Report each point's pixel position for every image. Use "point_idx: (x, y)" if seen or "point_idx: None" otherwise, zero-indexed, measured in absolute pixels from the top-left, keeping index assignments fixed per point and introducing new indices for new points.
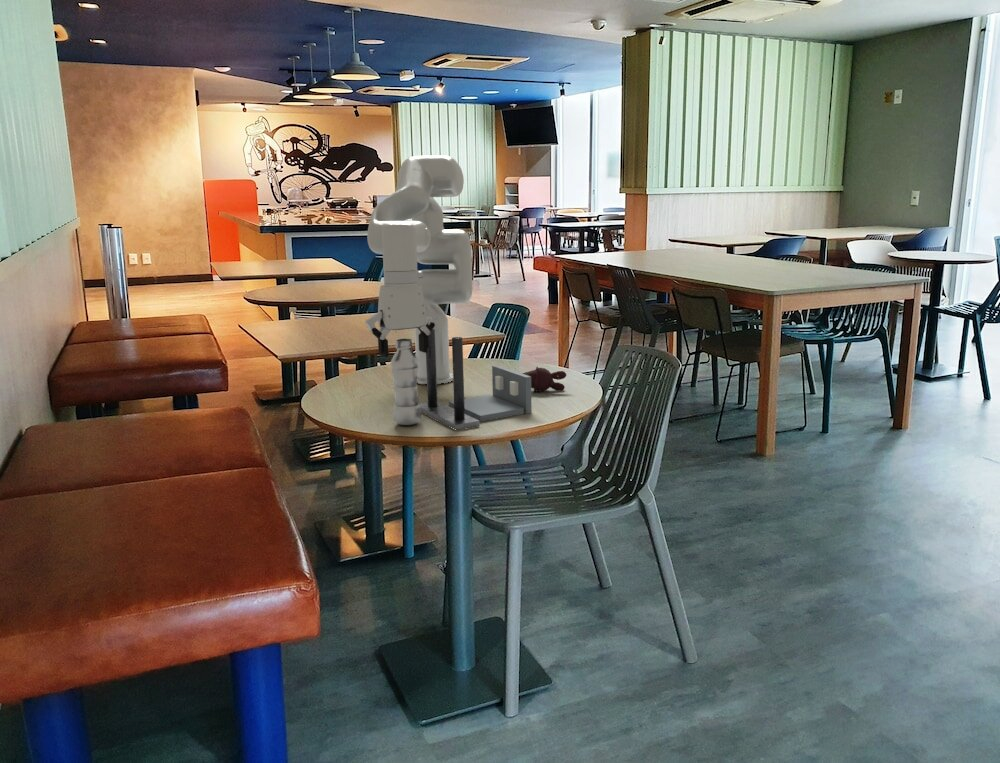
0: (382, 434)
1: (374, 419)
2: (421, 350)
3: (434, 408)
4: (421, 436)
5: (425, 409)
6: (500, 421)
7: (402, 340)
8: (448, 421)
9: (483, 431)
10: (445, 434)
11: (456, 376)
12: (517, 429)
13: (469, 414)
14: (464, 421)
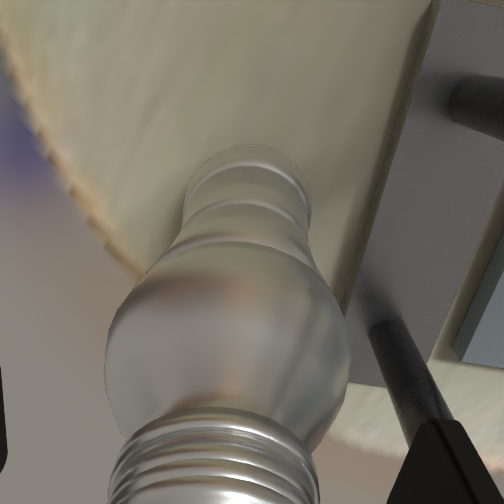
0: (106, 236)
1: (178, 13)
2: (407, 469)
3: (440, 150)
4: None
5: (400, 135)
6: (498, 380)
7: (247, 493)
8: None
9: (375, 415)
10: None
11: None
12: None
13: (487, 281)
14: (374, 368)
